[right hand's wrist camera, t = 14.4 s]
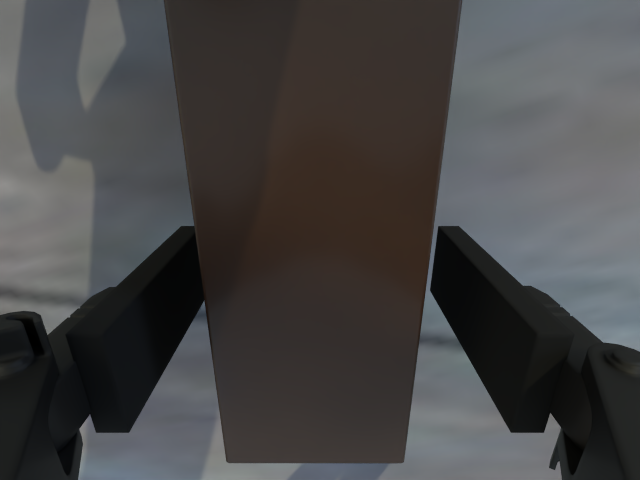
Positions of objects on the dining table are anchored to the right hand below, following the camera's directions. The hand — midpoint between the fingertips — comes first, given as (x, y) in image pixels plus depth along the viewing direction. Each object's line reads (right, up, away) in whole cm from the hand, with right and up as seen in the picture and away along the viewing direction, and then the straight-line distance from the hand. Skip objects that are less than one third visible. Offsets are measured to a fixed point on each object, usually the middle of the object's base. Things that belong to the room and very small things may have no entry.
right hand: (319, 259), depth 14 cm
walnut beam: (0, +11, -2) cm, 11 cm away
